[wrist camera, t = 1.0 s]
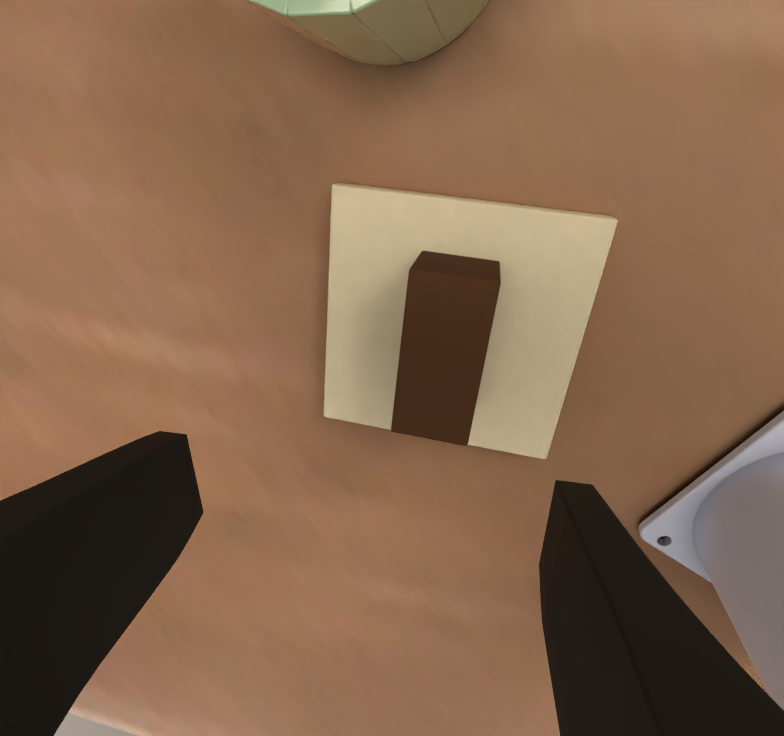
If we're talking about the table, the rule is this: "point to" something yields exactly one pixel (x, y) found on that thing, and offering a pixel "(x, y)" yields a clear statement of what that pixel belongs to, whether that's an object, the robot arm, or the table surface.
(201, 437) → the table surface
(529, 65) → the table surface
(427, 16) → the cup
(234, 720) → the table surface
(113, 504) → the robot arm
